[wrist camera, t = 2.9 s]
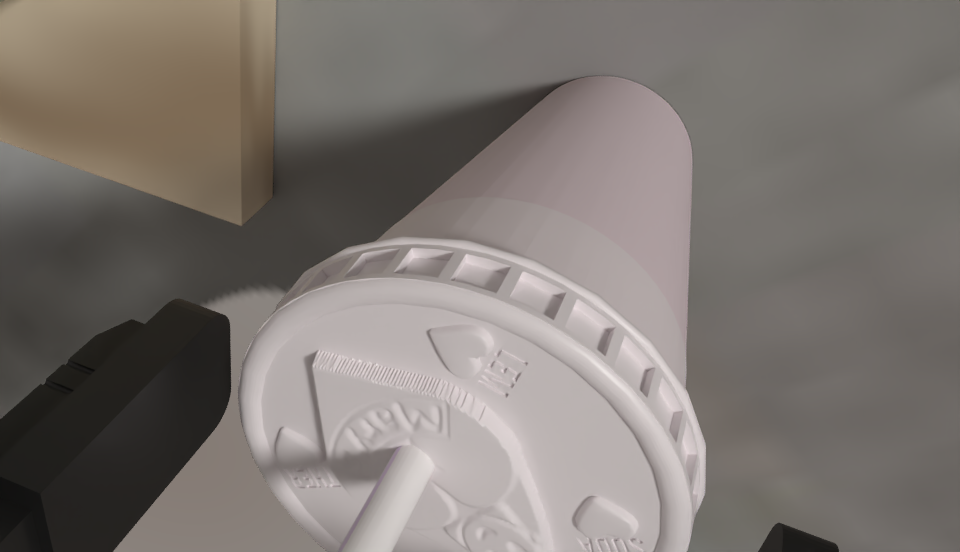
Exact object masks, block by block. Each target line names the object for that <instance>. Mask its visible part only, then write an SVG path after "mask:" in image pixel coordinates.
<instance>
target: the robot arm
mask: <svg viewBox="0 0 960 552" xmlns="http://www.w3.org/2000/svg"><path fill="white" fill-rule="evenodd" d="M230 357H231V356H230V323H229V319H228V318H227V317H226V316H225V315H223V314H220V313H217V312H215V311H212V310H209V309H207V308H204V307H201V306H199V305H196V304H193V303H190V302H188V301H185V300H182V299H175V300H172V301H171V302H169V303H168V304H167V305H165V306H164V307H163V308H162V309H161V310H160V311H159V312H158V313H157V314H156V315H155V316H153V317H152V318H151V319H150V320H149V321H148V322H147V323H146V324H143V323H140V322H137V321H135V320H132V319H131V320H129V321H127V322H125V323H123V324H120V325H118V326H116V327H114V328H111V329H109V330H107V331H105V332H103V333H100V334H98V335H96V336H95V337H93V338H92V339H91V340H90V341H89V342H88V343H87V344H86V345H84V346H83V347H82V348H81V349H80V350H79V351H78V352H76V353H75V354H74V355H73V356H72V357H71V358H70V359H69V360H68V363H67V364H66V365H64V364H63V365H62V366H61V367H59V368H58V369H57V370H56V371H55V372H54V373H53V374H51V375H50V376H49V377H48V378H47V379H46V383H45V384H44V385H42V384H40V385H39V386H38V387H37V388H36V389H34V390H33V391H32V392H31V393H30V394H29V395H28V396H27V397H25V398H24V399H23V400H22V401H21V402H20V403H19V404H17V405H16V406H15V407H14V408H13V409H12V410H11V411H9V412H8V413H7V414H6V415H5V416H4V417H3V418H2V419H0V552H113V551H114V549H115V548H116V547H117V546H118V545H119V543H120V542H121V541H122V540H123V538H124V537H125V536H126V535H127V534H128V533H129V531H130V530H131V529H132V528H133V527H134V525H135V524H136V523H137V522H138V520H139V519H140V518H141V517H142V516H143V515H144V513H145V512H146V511H147V510H148V509H149V508H150V506H151V505H152V504H153V503H154V501H155V500H156V499H157V498H158V497H159V496H160V494H161V493H162V492H163V491H164V489H165V488H166V487H167V486H168V485H169V484H170V482H171V481H172V480H173V479H174V478H175V476H176V475H177V474H178V473H179V472H180V470H181V469H182V468H183V467H184V466H185V464H186V463H187V462H188V461H189V460H190V458H191V457H192V456H193V455H194V454H195V452H196V451H197V450H198V449H199V448H200V446H201V445H202V444H203V443H204V442H205V440H206V439H207V438H208V437H209V436H210V434H211V433H212V432H213V431H214V429H215V428H216V427H217V425H218V424H219V422H220V420H221V419H222V417H223V415H224V413H225V410H226V408H227V405H228V402H229V398H230V393H231V358H230ZM758 552H839V549H838V546H837V545H836V544H835V543H833V542H830V541H827V540H824V539H822V538H819V537H816V536H814V535H811V534H808V533H806V532H803V531H800V530H797V529H795V528H792V527H789V526H787V525H784V524H781V523H777V524H776V525H775V526H774V527H773V528H772V530H771V531H770V533H769V535H768V536H767V538H766V540H765V541H764V543H763V545H762V546H761V548H760V550H759V551H758Z"/></svg>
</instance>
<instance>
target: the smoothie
mask: <svg viewBox="0 0 960 552" xmlns="http://www.w3.org/2000/svg"><path fill="white" fill-rule="evenodd" d="M691 191H692V148H691V143H690V139H689V136H688V133H687V131H686V129H685V127H684V124H683V123H682V121H681V119H680V118H679V116H678V115H677V113H676V112H675V111H674V109H673V108H672V107H671V106H670V105H669V104H668V103H667V102H666V101H665V100H664V99H663V98H661V97H660V96H659V95H657V94H656V93H655V92H653V91H652V90H650V89H648V88H647V87H645V86H643V85H641V84H638V83H636V82H633V81H630V80H627V79H623V78H618V77H613V76H591V77H585V78H580V79H576V80H573V81H570V82H568V83H566V84H564V85H562V86H560V87H558V88H556V89H555V90H554V91H552V92H551V93H550V94H548V95H547V96H546V97H545V98H544V99H543V100H541V101H540V102H539V103H538V104H537V105H535V106H534V107H533V108H532V109H531V110H530V111H528V112H527V113H526V114H525V115H524V116H523V117H521V118H520V119H519V120H518V121H517V122H515V123H514V124H513V125H512V126H511V127H510V128H508V129H507V130H506V131H505V132H504V133H503V134H501V135H500V136H499V137H498V138H497V139H496V140H494V141H493V142H492V143H491V144H490V145H488V146H487V147H486V148H485V149H484V150H483V151H481V152H480V153H479V154H478V155H477V156H476V157H474V158H473V159H472V160H471V161H470V162H468V163H467V164H466V165H465V166H464V167H463V168H461V169H460V170H459V171H458V172H457V173H456V174H454V175H453V176H452V177H451V178H450V179H449V180H447V181H446V182H445V183H444V184H443V185H441V186H440V187H439V188H438V189H437V190H436V191H434V192H433V193H432V194H431V195H430V196H429V197H427V198H426V199H425V200H424V201H423V202H421V203H420V204H419V205H418V206H417V207H416V208H414V209H413V210H412V211H411V212H410V213H409V214H407V215H406V216H405V217H404V218H403V219H401V220H400V221H399V222H397V223H396V224H394V225H393V226H392V227H391V228H390V229H389V230H387V231H386V232H385V233H384V234H383V235H382V236H381V237H380V238H379V239H377V240H376V241H375V242H370V243H366V244H361V245H356V246H351V247H347V248H345V249H344V250H342V251H340V252H338V253H337V254H335V255H333V256H331V257H329V258H328V259H326V260H324V261H322V262H321V263H319V264H317V265H315V266H314V267H312V268H310V269H308V270H306V271H305V272H304V273H303V274H302V276H301V277H300V278H299V279H298V280H297V282H296V283H295V284H294V285H293V287H292V288H291V289H290V290H289V291H288V293H287V294H286V295H285V296H284V297H283V299H282V300H281V301H280V302H279V304H278V305H277V307H276V310H275V311H274V312H273V314H272V315H271V316H270V317H269V318H268V319H267V321H266V322H265V323H264V324H263V325H262V327H261V328H260V329H259V330H258V332H257V333H256V334H255V336H254V338H253V339H252V341H251V343H250V345H249V346H248V349H247V351H246V354H245V357H244V359H243V362H242V366H241V371H240V376H239V387H238V399H239V411H240V417H241V423H242V427H243V430H244V433H245V437H246V440H247V443H248V446H249V448H250V451H251V454H252V457H253V459H254V461H255V463H256V464H257V466H258V468H259V470H260V472H261V473H262V475H263V477H264V479H265V481H266V483H267V485H268V486H269V488H270V489H271V491H272V492H273V493H274V495H275V496H276V497H277V499H278V500H279V501H280V503H281V504H282V505H283V507H284V508H285V509H286V511H287V512H288V513H289V515H290V516H291V517H292V518H293V519H294V520H295V521H296V522H297V523H298V524H299V525H300V526H301V527H302V528H303V529H304V530H305V531H306V532H307V533H308V534H309V535H310V536H311V537H312V538H313V540H314V541H315V542H317V544H319V545H320V546H321V547H322V548H324V549H325V550H326V551H327V552H687V550H688V546H689V543H690V538H691V533H692V527H693V522H694V518H695V516H696V514H697V511H698V509H699V507H700V504H701V502H702V500H703V497H704V495H705V467H706V444H705V441H704V438H703V435H702V432H701V429H700V426H699V424H698V421H697V418H696V415H695V412H694V409H693V406H692V403H691V400H690V398H689V395H688V392H687V390H686V389H685V387H686V340H687V310H688V280H689V251H690V221H691Z"/></svg>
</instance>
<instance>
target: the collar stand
mask: <svg viewBox="0 0 960 552" xmlns="http://www.w3.org/2000/svg"><path fill="white" fill-rule="evenodd" d="M275 41H276V0H0V141H2V142H5V143H8V144H11V145H13V146H16V147H19V148H22V149H25V150H27V151H30V152H33V153H36V154H39V155H42V156H44V157H47V158H50V159H53V160H56V161H59V162H61V163H64V164H67V165H70V166H73V167H76V168H78V169H81V170H84V171H87V172H90V173H92V174H95V175H98V176H101V177H104V178H107V179H109V180H112V181H115V182H118V183H121V184H124V185H126V186H129V187H132V188H135V189H138V190H140V191H143V192H146V193H149V194H152V195H155V196H157V197H160V198H163V199H166V200H169V201H172V202H174V203H177V204H180V205H183V206H186V207H189V208H191V209H194V210H197V211H200V212H203V213H205V214H208V215H211V216H214V217H217V218H220V219H222V220H225V221H228V222H231V223H234V224H237V225H239V226H242V225H244V224H245V223H246V222H247V221H248V220H249V219H250V218H251V217H252V216H253V215H254V214H255V213H256V212H258V211H259V210H260V209H261V208H262V207H263V206H264V205H265V204H266V203H267V202H268V201H269V200H270V199H271V198H273V152H274V96H275Z"/></svg>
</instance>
